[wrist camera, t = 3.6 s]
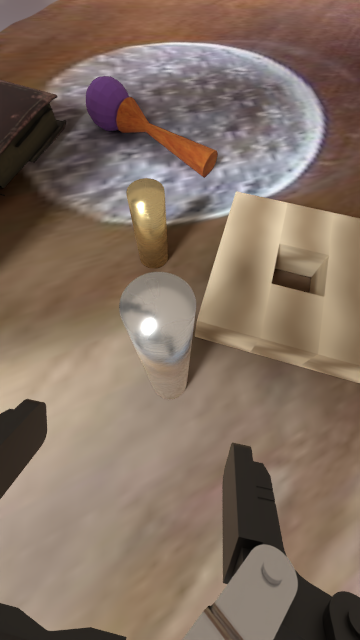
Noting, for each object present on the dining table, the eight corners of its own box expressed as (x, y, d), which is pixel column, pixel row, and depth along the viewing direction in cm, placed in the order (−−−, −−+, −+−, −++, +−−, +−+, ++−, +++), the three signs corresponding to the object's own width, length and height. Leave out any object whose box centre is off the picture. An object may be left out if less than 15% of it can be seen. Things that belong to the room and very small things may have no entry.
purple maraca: (196, 163, 33) (69, 87, 36) (196, 196, 39) (86, 128, 42) (225, 127, 34) (98, 57, 37) (221, 165, 40) (111, 101, 43)
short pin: (136, 264, 32) (120, 201, 23) (145, 242, 33) (134, 175, 25) (163, 271, 31) (157, 209, 23) (171, 248, 33) (169, 182, 24)
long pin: (147, 393, 26) (107, 328, 11) (159, 361, 27) (135, 264, 13) (181, 403, 26) (183, 350, 11) (190, 370, 27) (204, 282, 12)
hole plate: (194, 336, 28) (196, 320, 25) (229, 218, 34) (236, 191, 31) (359, 383, 26) (388, 373, 23) (365, 249, 33) (389, 225, 29)
